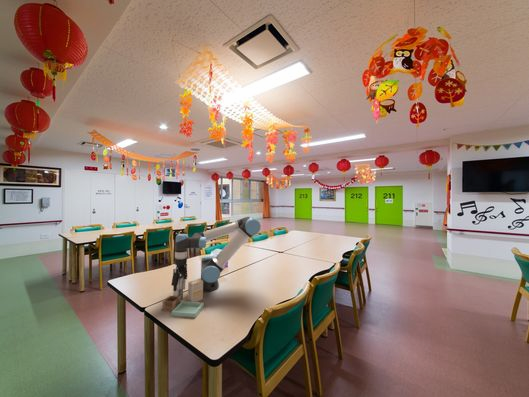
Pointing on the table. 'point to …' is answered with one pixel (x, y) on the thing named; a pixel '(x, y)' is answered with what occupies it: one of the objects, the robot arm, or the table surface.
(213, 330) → the table surface
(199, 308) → the tray
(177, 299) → the brown square holder
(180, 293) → the cylinder
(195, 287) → the supplement box
